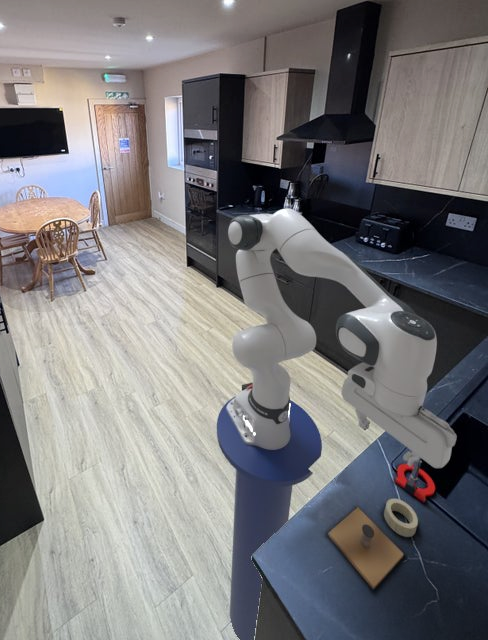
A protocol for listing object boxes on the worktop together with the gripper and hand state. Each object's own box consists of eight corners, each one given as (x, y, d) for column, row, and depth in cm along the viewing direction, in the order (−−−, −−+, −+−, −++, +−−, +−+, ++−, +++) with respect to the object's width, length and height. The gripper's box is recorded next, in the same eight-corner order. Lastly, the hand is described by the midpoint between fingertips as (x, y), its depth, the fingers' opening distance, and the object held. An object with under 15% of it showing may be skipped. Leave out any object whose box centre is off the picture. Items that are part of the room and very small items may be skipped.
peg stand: (327, 535, 75) (330, 520, 74) (357, 509, 80) (360, 494, 79) (373, 590, 66) (377, 574, 65) (403, 556, 71) (407, 541, 70)
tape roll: (378, 515, 79) (380, 507, 78) (393, 501, 82) (395, 493, 81) (406, 543, 74) (408, 534, 73) (420, 526, 77) (423, 518, 76)
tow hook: (403, 460, 93) (390, 480, 87) (413, 425, 89) (400, 443, 83) (438, 484, 86) (427, 507, 81) (450, 447, 83) (440, 468, 77)
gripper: (467, 423, 56) (449, 479, 61) (359, 357, 73) (350, 404, 78) (449, 439, 54) (431, 497, 58) (341, 366, 71) (333, 415, 75)
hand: (384, 443), depth 68 cm, fingers open, 8 cm apart
